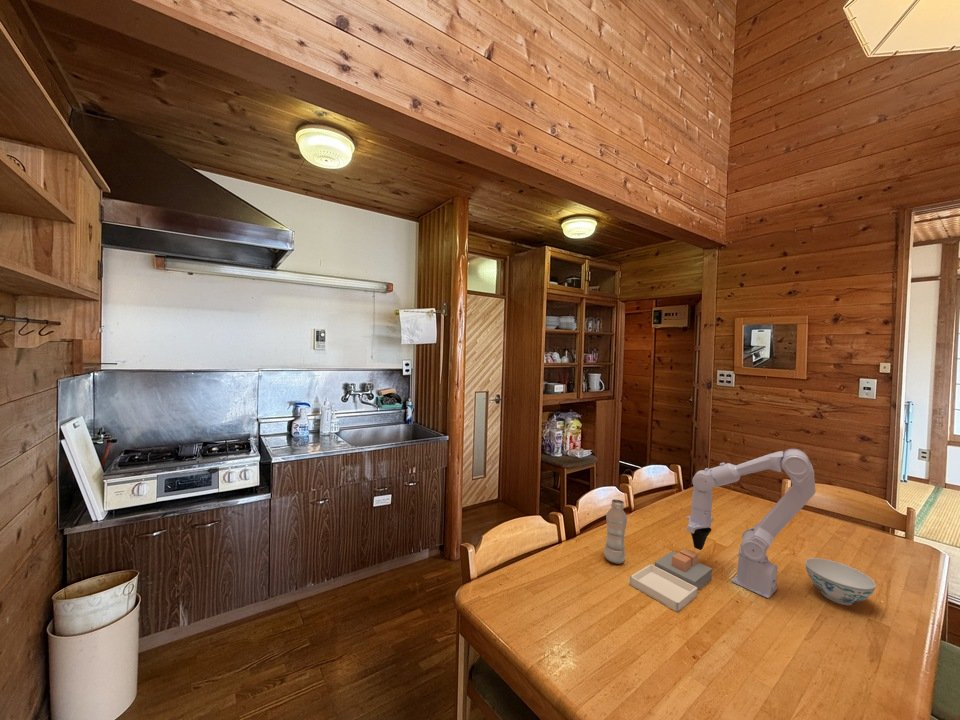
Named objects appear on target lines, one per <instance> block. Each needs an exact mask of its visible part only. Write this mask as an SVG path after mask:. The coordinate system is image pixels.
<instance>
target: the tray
mask: <svg viewBox="0 0 960 720" xmlns="http://www.w3.org/2000/svg"><path fill="white" fill-rule="evenodd" d="M629 586H632V587H633V588H635V589H636V590H638V591H640V592H641V593H643V594H645V595H647V596H648V597H650V598H652V599H653V600H655V601H657V602H659V603H660V604H661V605H663V606H665V607H667V608H669V609H671V610H672V611H674V612H675V613H679V612H680V611H681V610H682V609H683V608H686V606H687V605H688V604H689V603H690V602H691V601H693V600H694V599H695V598H697V597H698V591H699V590H698V588H697V587H695V586H693V585H691V584H689V583H687V582H685V581H683V580H682V579H680V578H678V577H676V576H674V575H672V574H670V573H668V572H666V571H664V570H662V569H660V568H658V567H656V566H655V564H654V565H653V564H652V563H649V564H648V565H646V566H645V567H643V568H641V569H640V570H638V571H636V572H635V573H633V574H632V575H630V576H629Z"/></svg>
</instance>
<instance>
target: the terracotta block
mask: <svg viewBox="0 0 960 720" xmlns="http://www.w3.org/2000/svg"><path fill="white" fill-rule="evenodd" d="M671 566H673V567H675V568H677V569H679V570H681V571H683V572H686V571H687V570H689V569H690V568H691V558H689V557H687V556H685V555H683V554H680V552H677V554H675V555H673V556H672V565H671Z"/></svg>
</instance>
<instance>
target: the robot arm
mask: <svg viewBox="0 0 960 720" xmlns="http://www.w3.org/2000/svg"><path fill="white" fill-rule="evenodd" d="M782 469H783V471H784V472H785V473H786V474H787V476H788V477H789V478H790V479H789V480H790V482H791V486H790V487H789V488H788V490H787V491H786V492H785V493H784V494H783V495H782V496H781V498H779V500H778V501H777V502H776V503H775V504H774V506H773V507H771V509H770V510H769V511H768V512H767V513H766V514H765V516H764V517H763V518H762V519H761V520H760V521H759V522H758V523H756V524H755V525H754V526H753V527H752V528H748V529H746V530H745V531H743V533H742V540H741V543H740V546H739V547H740V548H739V549H738V559H737V573H736V575H735V577H733V578H732V579H731V582H732V583H734V584H736V585H738V586H739V587H743V588H745V589H746V590H749V591H750V592H753V593H755V594H757V595H760V596H762V597H764V598H765V599H770V597H771V596H772V595H774V593H775V592H776V591H777V589H778V587H777V580H778V566H777V565H776V564H775V563H773V562H771V561H770V560H769V558H768V555H767V552H768V549H769V548H770V547H771V545H772V543H773V541H774V540H775V538H776V537H777V535H779V534H780V532H782V530H783V529H784V528H785V527H786V526H787V525H788V524H789V523H790V522H791V520H792V519H793V518H794V517H795V516H796V515H797V514H798V513H799V512H800V511H801V510H802V509H803V507H804V506H805V505H806V504H807V503H808V502H809V501H810V500H811V499H812V498H813V496H814V495H815V494H816V482H815V481H816V480H815V470H814V468H813V465H812V463H811V460H810V458H809V457H808V455H807V454H806V453H805V452H804V451H802V450H801V449H797V448H789V449H785V451H784V450H781V451H780V450H779V451H775V452H771V453H768V454H766V455H763V456H759V457H757V458H754V459H751V460H747V461H745V462H742V463H739V464H737V465H736V464H732V463H730V462H727V463H725V461H724V462H720V463H719V465H718V466H715V467H711V468H709V467H706V468H704V470H703V469H702V470H701V469H700V470H698V471H696V473H695V474H694V476H692V481H691V482H692V485H693V486H692V494H691V496H692V497H691V508H690V515H688V516H686V519H687V521H688V524H687V526H686V532H689V533H690V535H691V537H692V543H693V547H694V548H695V549H697V550H699V551H702V550H703V548H704V546H705V543H706V540H707V538H708V536H709V534H710V533H711V532H712V527H711V526H712V523H713V520H714V517H713V516H712V507H713V488H714V487H722V486H725V485H729V484H733V483H737V482H739V481H740V478H741V476H746V475H750V474H753V473H758V472H763V471H766V470H771V471H775V472H778V473H782Z"/></svg>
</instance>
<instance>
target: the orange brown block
mask: <svg viewBox="0 0 960 720" xmlns="http://www.w3.org/2000/svg"><path fill="white" fill-rule="evenodd" d="M679 553H680V554H683V555H685V556H687V557H689V558H691V567H693V566H694V565H696V564H697V563H698V562H699V553H698V552H696V551H693V550H691V549H689V548H687V547H685V548H683V549H682V550H679Z"/></svg>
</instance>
